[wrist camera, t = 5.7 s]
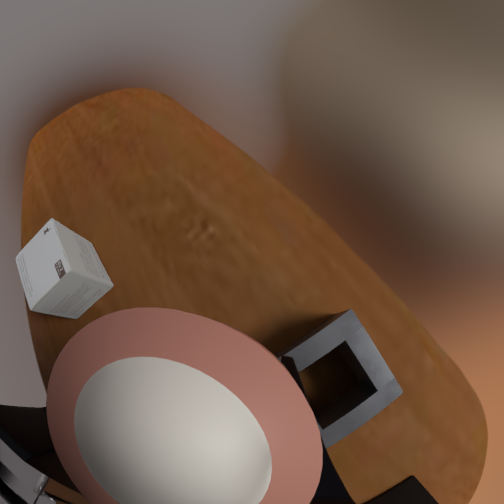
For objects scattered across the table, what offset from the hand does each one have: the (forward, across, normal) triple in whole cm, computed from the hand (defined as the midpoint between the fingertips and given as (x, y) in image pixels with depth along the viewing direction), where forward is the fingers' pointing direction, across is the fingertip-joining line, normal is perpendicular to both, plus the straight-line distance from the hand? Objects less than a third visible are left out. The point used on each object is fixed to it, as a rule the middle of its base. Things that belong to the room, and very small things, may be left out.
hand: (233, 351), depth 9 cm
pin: (+4, 0, +6) cm, 7 cm away
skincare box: (+10, +18, +9) cm, 23 cm away
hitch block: (+8, -6, +11) cm, 15 cm away
